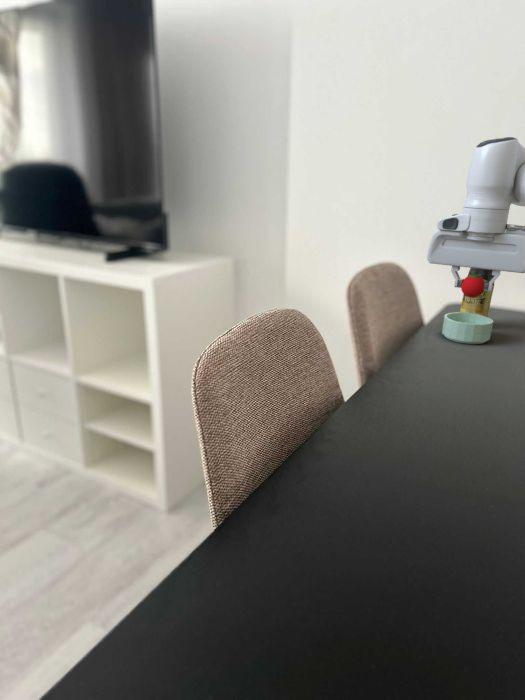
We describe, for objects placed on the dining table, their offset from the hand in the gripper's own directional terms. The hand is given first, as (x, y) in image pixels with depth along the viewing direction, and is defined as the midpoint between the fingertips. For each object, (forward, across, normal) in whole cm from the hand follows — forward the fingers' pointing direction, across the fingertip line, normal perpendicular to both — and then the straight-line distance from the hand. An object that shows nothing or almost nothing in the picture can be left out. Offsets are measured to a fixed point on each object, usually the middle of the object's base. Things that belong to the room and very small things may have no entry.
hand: (472, 288), depth 110 cm
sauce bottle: (+11, 0, -12) cm, 16 cm away
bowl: (+11, 0, 0) cm, 11 cm away
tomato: (+2, 0, 0) cm, 2 cm away
